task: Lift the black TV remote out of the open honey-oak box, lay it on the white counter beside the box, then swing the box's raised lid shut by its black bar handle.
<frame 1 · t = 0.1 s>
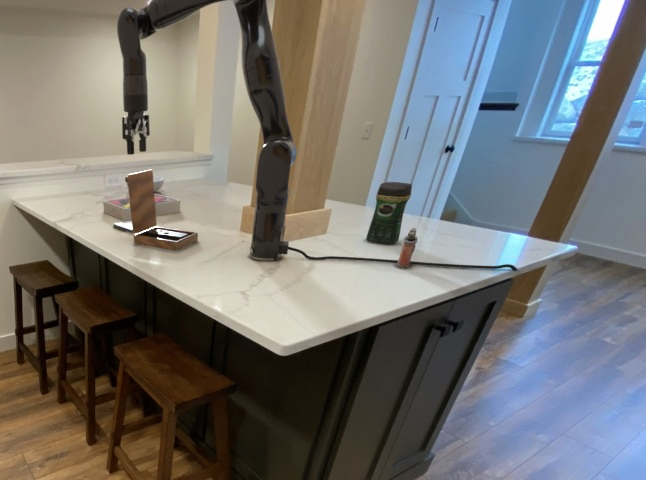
hand: (136, 153, 144), 29 cm above the table, tool pointing down, fingers open, 8 cm apart
remote: (166, 241, 159), point 1 cm above the table, touching chest
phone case: (131, 229, 179), on the table
coffee jar: (381, 242, 151), on the table
chest: (165, 243, 159), on the table
lighter: (402, 265, 131), on the table
lid: (137, 201, 158), point 13 cm above the table, hinge at 95.0°
product packaging: (141, 212, 204), on the table
serving bowl: (145, 192, 246), on the table
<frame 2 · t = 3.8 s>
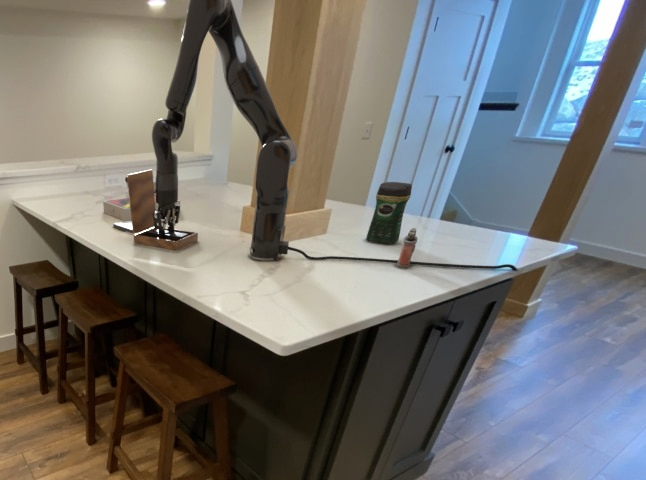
hand: (166, 238, 158), 2 cm above the table, tool pointing down, fingers closed on remote, 5 cm apart
remote: (166, 241, 159), point 1 cm above the table, touching chest, gripper
everything else where it was.
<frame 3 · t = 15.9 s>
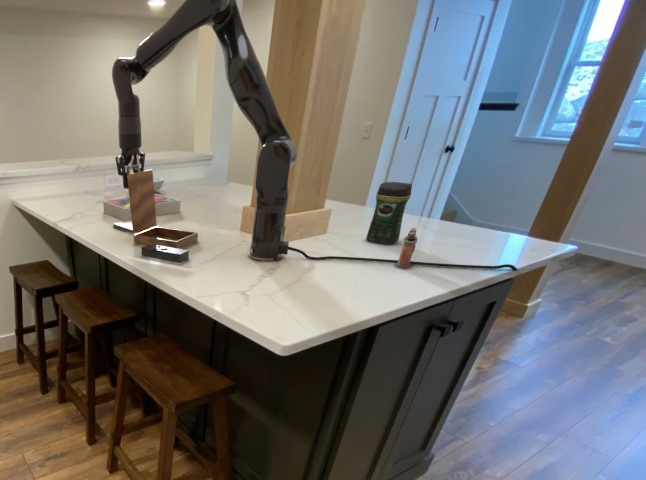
hand: (131, 186, 157), 18 cm above the table, tool pointing down, fingers closed on lid, 5 cm apart
remote: (164, 258, 144), on the table
lid: (137, 201, 158), point 13 cm above the table, hinge at 95.0°, touching gripper
everything else where it was.
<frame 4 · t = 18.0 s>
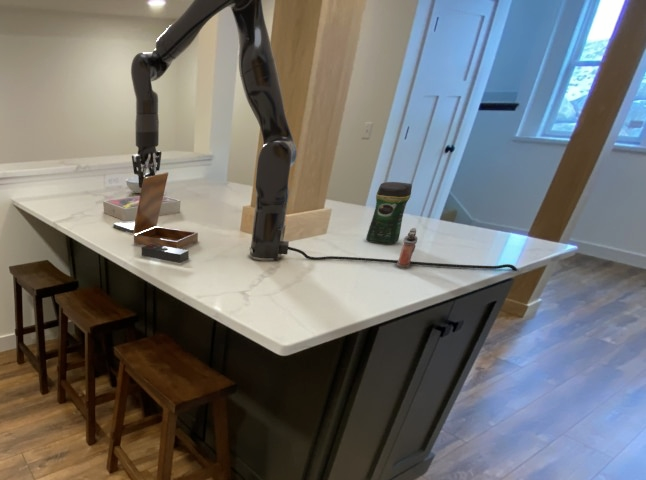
hand: (147, 186, 153), 19 cm above the table, tool pointing down, fingers closed on lid, 5 cm apart
lid: (145, 200, 156), point 14 cm above the table, hinge at 74.1°, touching gripper
everything else where it was.
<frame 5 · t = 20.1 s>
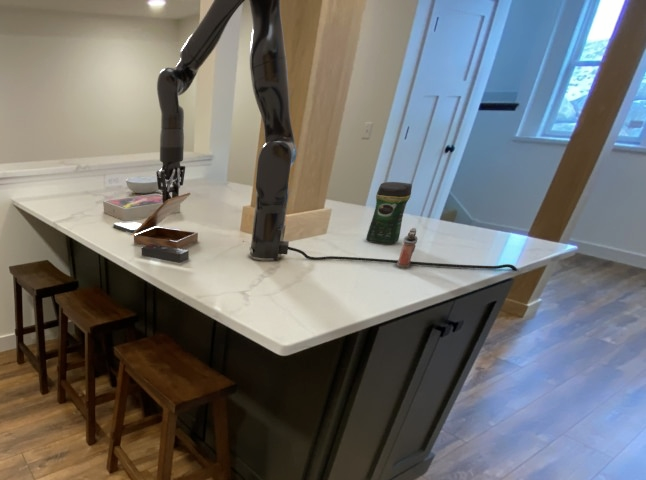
hand: (170, 201, 150), 14 cm above the table, tool pointing down, fingers closed on lid, 5 cm apart
lid: (157, 208, 154), point 12 cm above the table, hinge at 40.1°, touching gripper
everything else where it was.
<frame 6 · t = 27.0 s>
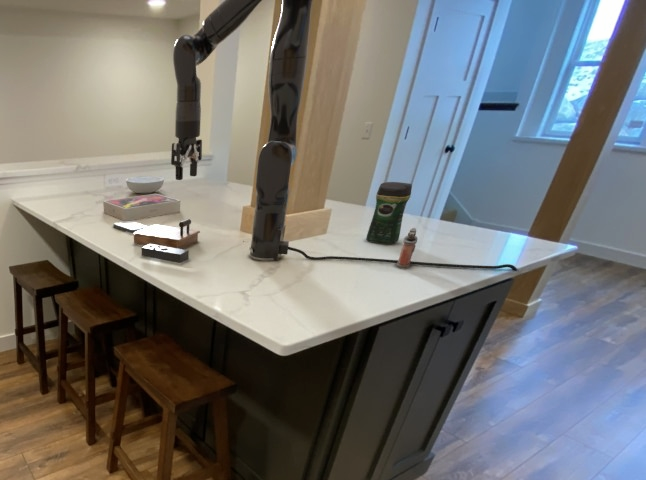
hand: (186, 177, 142), 22 cm above the table, tool pointing down, fingers open, 8 cm apart
lid: (166, 225, 155), point 6 cm above the table, hinge at -0.1°
everything else where it was.
at the end: remote inside the target area (0.2 cm from its centre), on the table; remote tilted 0°; lid at +0° (first picture: +95°) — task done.
